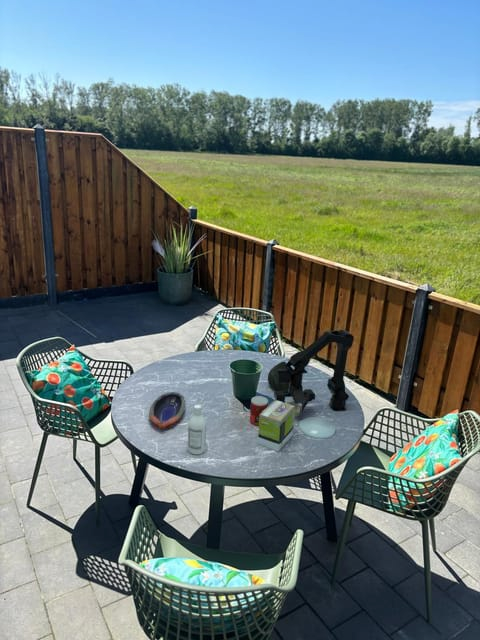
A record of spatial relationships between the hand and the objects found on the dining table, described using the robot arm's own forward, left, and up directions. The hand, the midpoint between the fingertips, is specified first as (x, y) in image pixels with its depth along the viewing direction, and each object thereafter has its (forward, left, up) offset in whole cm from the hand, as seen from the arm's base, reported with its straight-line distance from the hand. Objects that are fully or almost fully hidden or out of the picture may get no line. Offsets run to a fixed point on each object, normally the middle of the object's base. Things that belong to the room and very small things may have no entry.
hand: (292, 411), depth 215 cm
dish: (+58, -6, -2) cm, 59 cm away
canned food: (+18, +5, -2) cm, 19 cm away
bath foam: (+48, +23, -2) cm, 53 cm away
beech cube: (0, 0, -1) cm, 1 cm away
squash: (-2, -26, -2) cm, 26 cm away
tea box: (+14, +20, -2) cm, 24 cm away
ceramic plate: (-7, +14, -1) cm, 16 cm away
